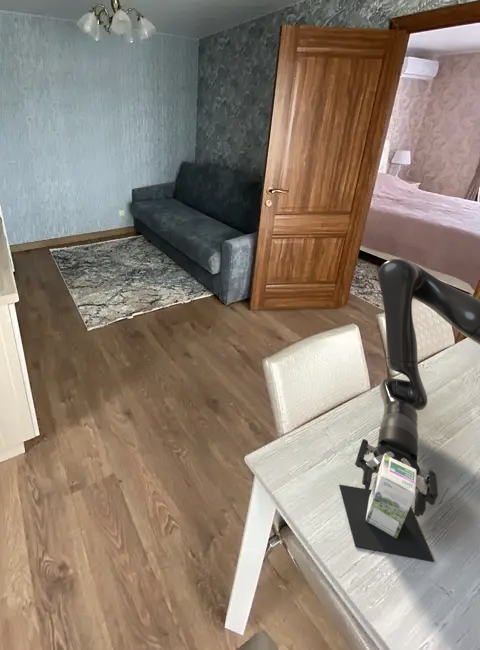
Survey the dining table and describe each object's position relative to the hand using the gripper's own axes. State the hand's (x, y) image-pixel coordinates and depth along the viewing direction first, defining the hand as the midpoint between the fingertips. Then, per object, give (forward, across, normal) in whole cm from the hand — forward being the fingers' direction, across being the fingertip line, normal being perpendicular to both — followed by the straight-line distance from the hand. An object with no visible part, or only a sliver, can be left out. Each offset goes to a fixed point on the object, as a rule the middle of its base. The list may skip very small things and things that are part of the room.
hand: (391, 499), depth 67 cm
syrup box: (-2, 0, +9) cm, 9 cm away
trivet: (-2, 0, +9) cm, 9 cm away
